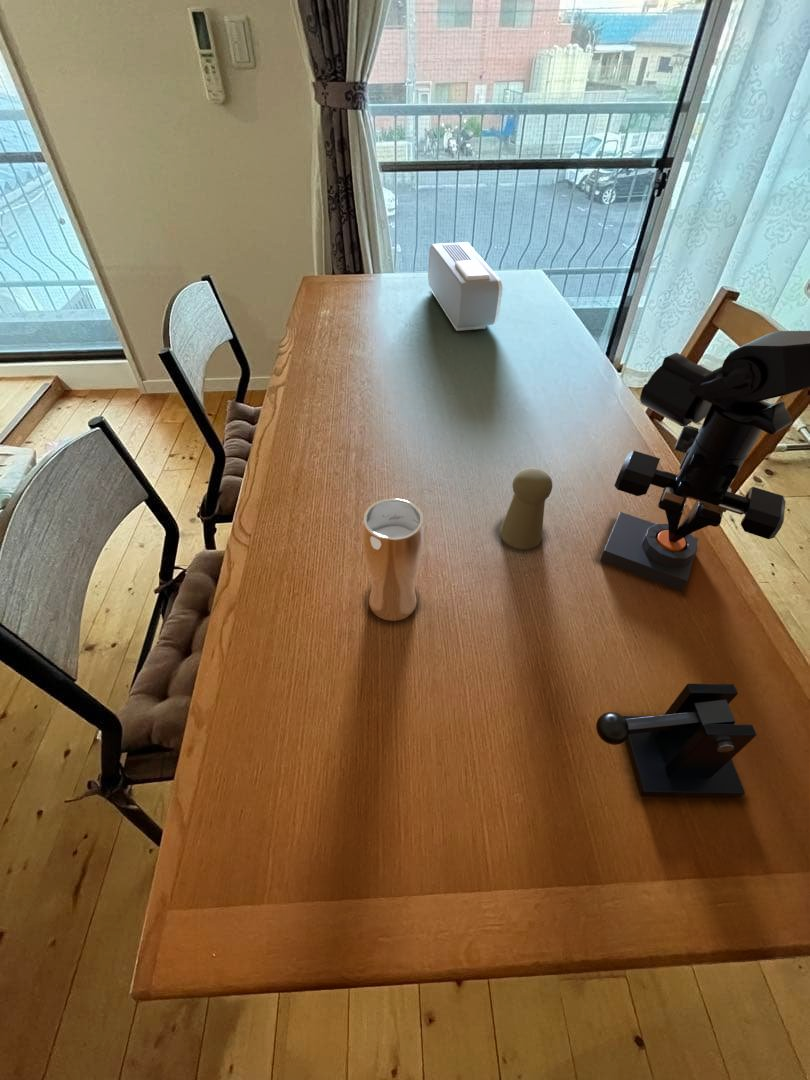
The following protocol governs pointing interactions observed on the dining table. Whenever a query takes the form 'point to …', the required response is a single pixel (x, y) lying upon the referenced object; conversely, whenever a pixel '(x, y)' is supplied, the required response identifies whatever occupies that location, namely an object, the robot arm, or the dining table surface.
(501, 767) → the dining table surface
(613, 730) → the switch
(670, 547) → the button
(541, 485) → the olive game pawn
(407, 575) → the beer glass
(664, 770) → the switch bracket
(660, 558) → the button box
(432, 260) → the alarm clock
